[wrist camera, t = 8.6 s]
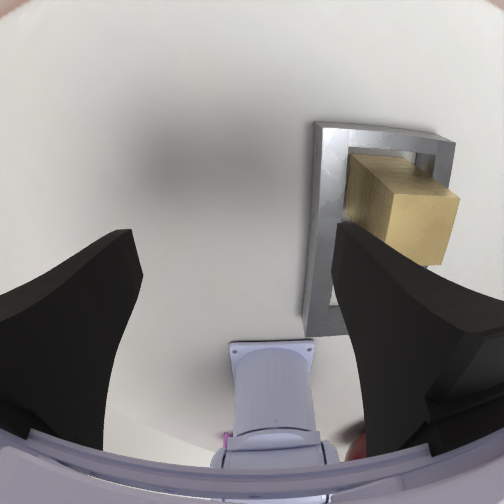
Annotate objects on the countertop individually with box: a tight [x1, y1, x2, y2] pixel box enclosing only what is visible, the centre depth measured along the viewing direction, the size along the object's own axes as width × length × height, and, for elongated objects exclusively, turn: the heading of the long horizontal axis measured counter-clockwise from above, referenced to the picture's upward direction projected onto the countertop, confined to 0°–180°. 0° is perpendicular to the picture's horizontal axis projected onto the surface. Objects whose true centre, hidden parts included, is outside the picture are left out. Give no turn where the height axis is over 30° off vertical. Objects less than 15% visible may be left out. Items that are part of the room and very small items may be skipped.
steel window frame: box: [302, 122, 456, 338], centre depth 20 cm, size 16×9×2 cm, turn 2°
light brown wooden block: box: [345, 154, 460, 266], centre depth 16 cm, size 4×4×7 cm
